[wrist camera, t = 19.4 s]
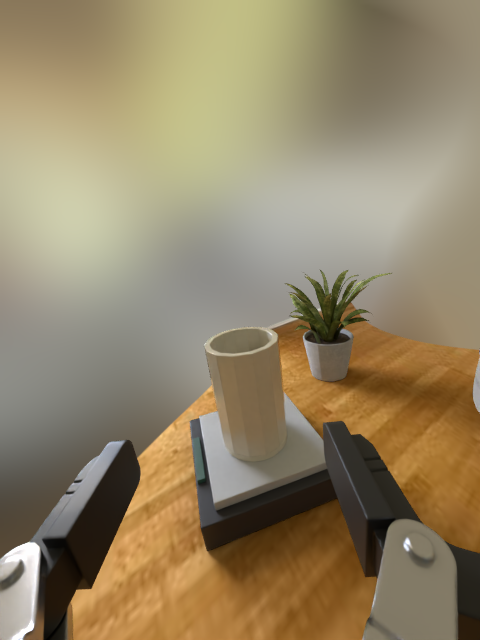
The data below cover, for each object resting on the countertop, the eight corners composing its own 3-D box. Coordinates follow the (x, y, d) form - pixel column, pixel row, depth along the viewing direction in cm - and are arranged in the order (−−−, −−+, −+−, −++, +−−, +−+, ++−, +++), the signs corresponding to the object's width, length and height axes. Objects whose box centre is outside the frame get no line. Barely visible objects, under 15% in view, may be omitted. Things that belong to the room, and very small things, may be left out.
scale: (207, 552, 18) (198, 521, 17) (193, 437, 29) (188, 414, 28) (349, 493, 20) (348, 463, 19) (286, 408, 32) (284, 387, 31)
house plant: (371, 349, 43) (373, 255, 39) (407, 396, 31) (416, 263, 26) (289, 353, 46) (282, 266, 42) (291, 397, 34) (280, 279, 29)
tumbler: (231, 472, 20) (210, 363, 17) (218, 423, 26) (200, 335, 23) (300, 449, 21) (291, 344, 18) (272, 406, 27) (262, 322, 24)
